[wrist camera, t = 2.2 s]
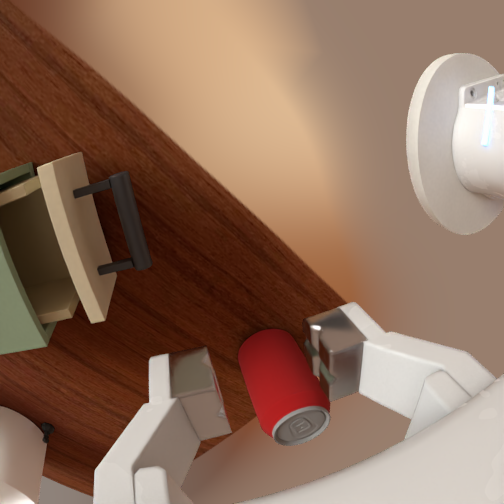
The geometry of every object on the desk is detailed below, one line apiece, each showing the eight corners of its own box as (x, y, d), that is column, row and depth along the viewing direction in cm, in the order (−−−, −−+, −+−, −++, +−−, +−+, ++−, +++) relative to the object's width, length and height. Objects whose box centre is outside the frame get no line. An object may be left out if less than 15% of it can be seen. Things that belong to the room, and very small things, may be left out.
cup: (36, 413, 32) (20, 484, 21) (55, 456, 36) (48, 518, 25) (-30, 396, 28) (-54, 458, 18) (-5, 442, 32) (-19, 498, 22)
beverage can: (253, 378, 37) (283, 457, 26) (224, 344, 34) (252, 431, 23) (301, 350, 37) (345, 424, 27) (278, 313, 34) (325, 391, 24)
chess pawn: (57, 429, 34) (54, 445, 31) (49, 432, 34) (46, 448, 31) (47, 421, 33) (43, 437, 30) (39, 425, 33) (35, 440, 30)
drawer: (129, 137, 23) (115, 142, 17) (160, 265, 28) (160, 308, 22) (-36, 198, 20) (-79, 221, 14) (4, 303, 25) (-24, 346, 19)
